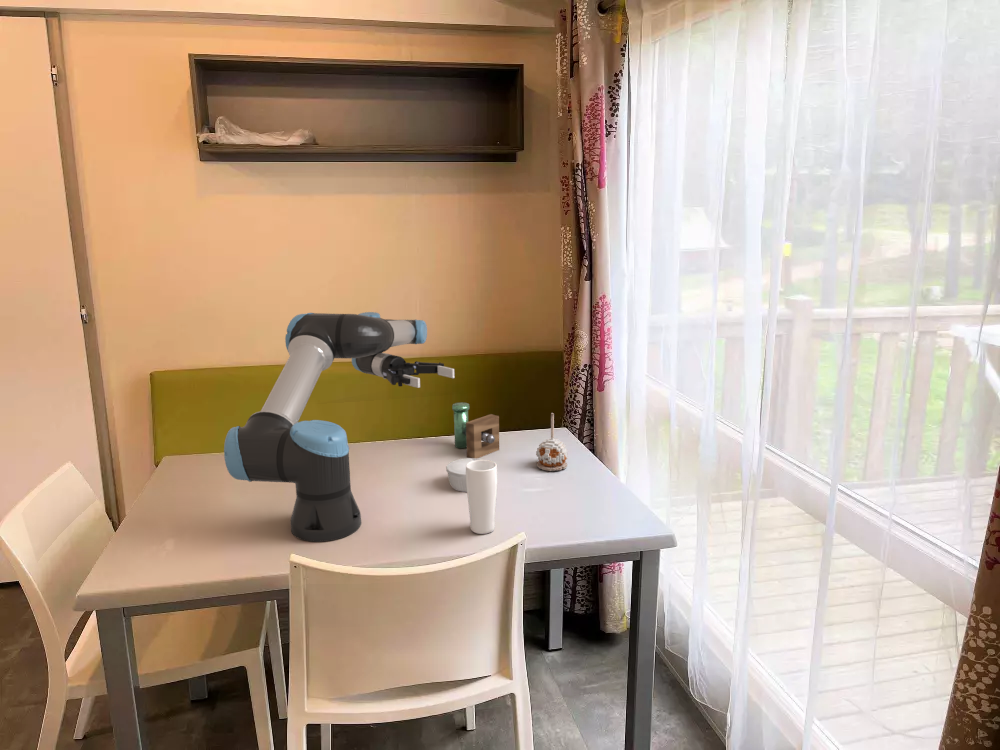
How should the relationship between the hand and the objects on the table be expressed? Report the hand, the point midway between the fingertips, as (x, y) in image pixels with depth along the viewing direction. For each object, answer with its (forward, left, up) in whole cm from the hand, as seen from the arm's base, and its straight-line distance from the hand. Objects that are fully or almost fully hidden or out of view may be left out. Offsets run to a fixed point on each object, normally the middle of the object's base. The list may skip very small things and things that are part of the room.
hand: (436, 378), depth 213 cm
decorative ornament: (-38, -11, -19) cm, 44 cm away
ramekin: (-34, +13, -19) cm, 41 cm away
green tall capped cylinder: (-15, -3, -18) cm, 24 cm away
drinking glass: (-56, +25, -19) cm, 64 cm away
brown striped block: (-18, -3, -19) cm, 26 cm away
